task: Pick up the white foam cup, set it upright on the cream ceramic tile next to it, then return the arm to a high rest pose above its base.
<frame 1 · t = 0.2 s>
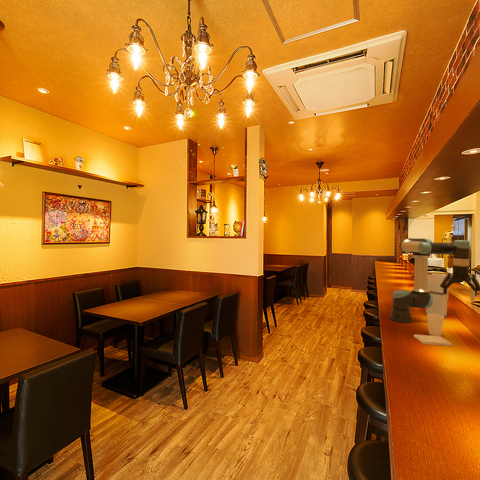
hand: (459, 300, 163), 27 cm above the bar counter, fingers open, 13 cm apart
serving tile: (432, 341, 170), on the bar counter
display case: (436, 316, 226), on the bar counter
foam cup: (434, 335, 181), on the bar counter
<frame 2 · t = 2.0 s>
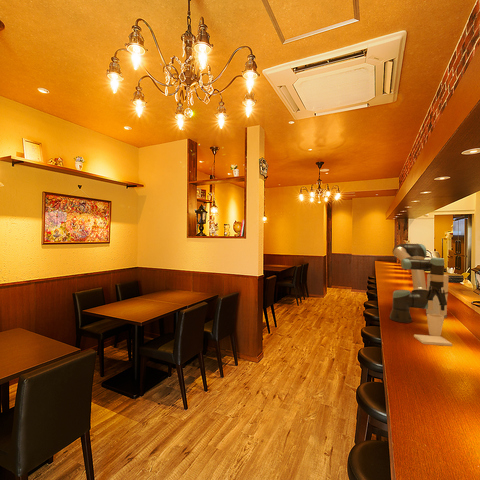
hand: (435, 312, 181), 15 cm above the bar counter, fingers open, 13 cm apart
nothing on the bar counter moved.
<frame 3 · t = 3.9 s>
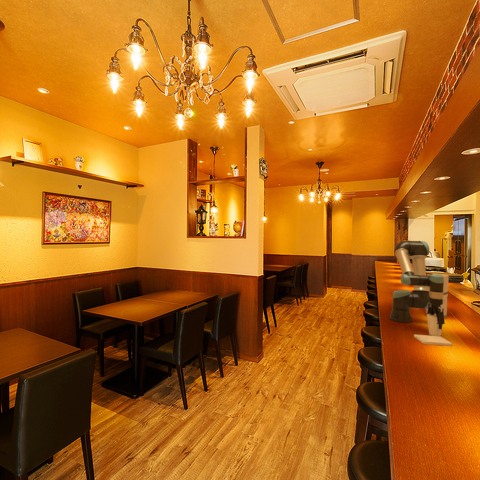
hand: (434, 331, 181), 3 cm above the bar counter, fingers closed on foam cup, 9 cm apart
foam cup: (434, 335, 181), on the bar counter, touching gripper
everything else where it was.
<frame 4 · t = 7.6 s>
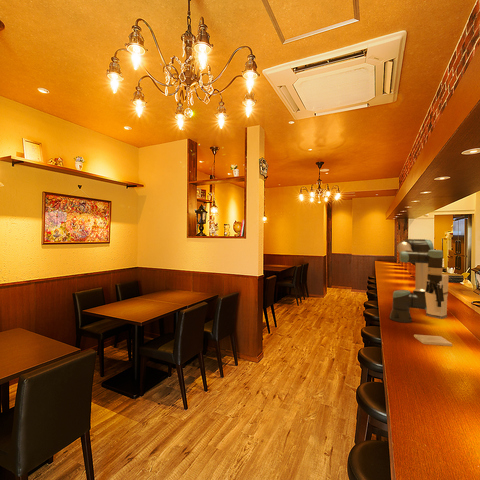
hand: (433, 309, 170), 20 cm above the bar counter, fingers closed on foam cup, 9 cm apart
foam cup: (433, 314, 170), point 17 cm above the bar counter, touching gripper
everything else where it was.
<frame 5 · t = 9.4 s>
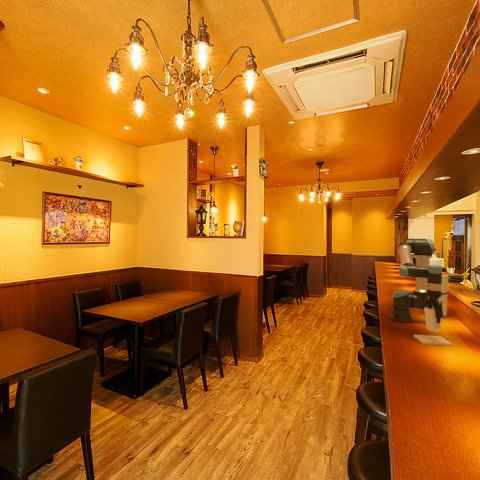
hand: (432, 325, 170), 10 cm above the bar counter, fingers closed on foam cup, 9 cm apart
foam cup: (432, 329, 170), point 7 cm above the bar counter, touching gripper
everything else where it was.
when the fingers open (6 cm above the bar counter, at t = 11.2 s): foam cup drops 1 cm, resting on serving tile.
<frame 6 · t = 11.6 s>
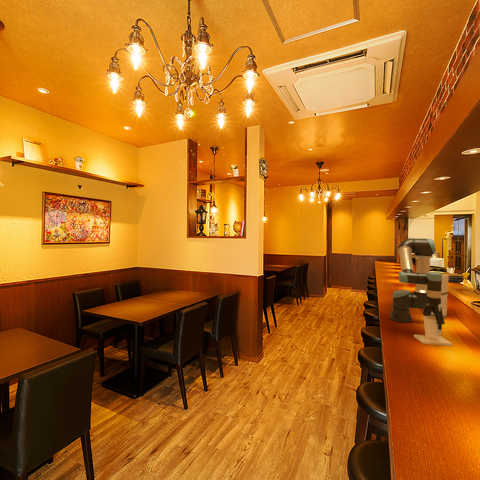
hand: (432, 330, 170), 7 cm above the bar counter, fingers open, 13 cm apart
foam cup: (431, 338, 171), point 1 cm above the bar counter, touching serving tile
everything else where it was.
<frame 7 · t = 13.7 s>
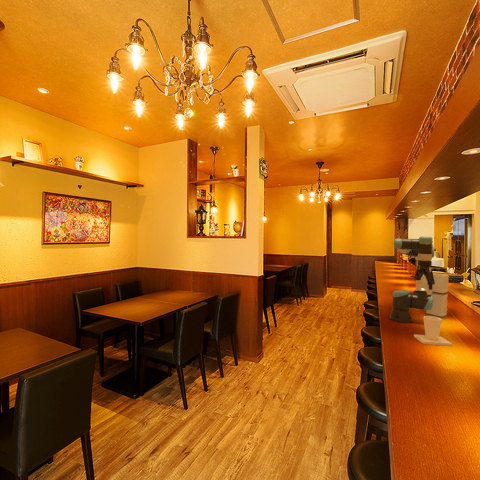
hand: (423, 292, 179), 29 cm above the bar counter, fingers open, 13 cm apart
nothing on the bar counter moved.
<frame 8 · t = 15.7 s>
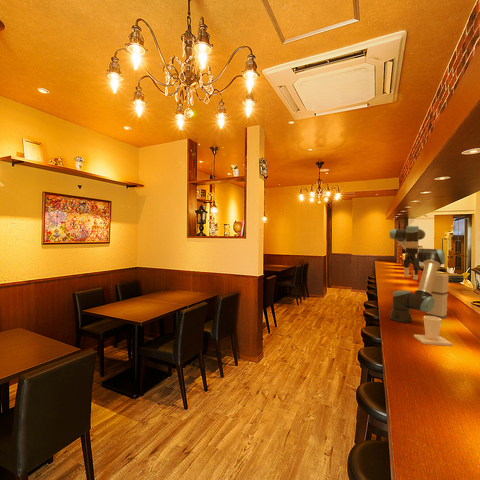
hand: (410, 278, 190), 37 cm above the bar counter, fingers open, 13 cm apart
nothing on the bar counter moved.
at the end: foam cup inside the target area on the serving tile (0.7 cm from its centre), point 1.3 cm above the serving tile's base; foam cup tilted 0°; the gripper is holding nothing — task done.
